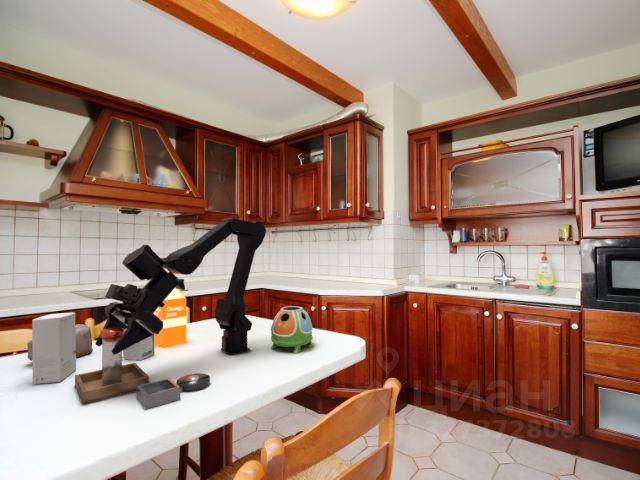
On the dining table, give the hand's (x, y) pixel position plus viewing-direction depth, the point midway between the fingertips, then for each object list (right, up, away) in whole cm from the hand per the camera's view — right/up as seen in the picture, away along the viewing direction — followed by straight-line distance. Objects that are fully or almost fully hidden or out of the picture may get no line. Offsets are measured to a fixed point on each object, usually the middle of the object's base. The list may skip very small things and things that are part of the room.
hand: (104, 349), depth 77 cm
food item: (-25, -9, +21) cm, 33 cm away
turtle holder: (+39, -9, +32) cm, 51 cm away
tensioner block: (+16, -9, -1) cm, 18 cm away
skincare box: (-16, -9, +7) cm, 20 cm away
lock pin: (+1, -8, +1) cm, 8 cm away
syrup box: (-4, -9, +22) cm, 24 cm away
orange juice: (-1, -9, +36) cm, 37 cm away
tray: (+1, -9, +1) cm, 9 cm away
